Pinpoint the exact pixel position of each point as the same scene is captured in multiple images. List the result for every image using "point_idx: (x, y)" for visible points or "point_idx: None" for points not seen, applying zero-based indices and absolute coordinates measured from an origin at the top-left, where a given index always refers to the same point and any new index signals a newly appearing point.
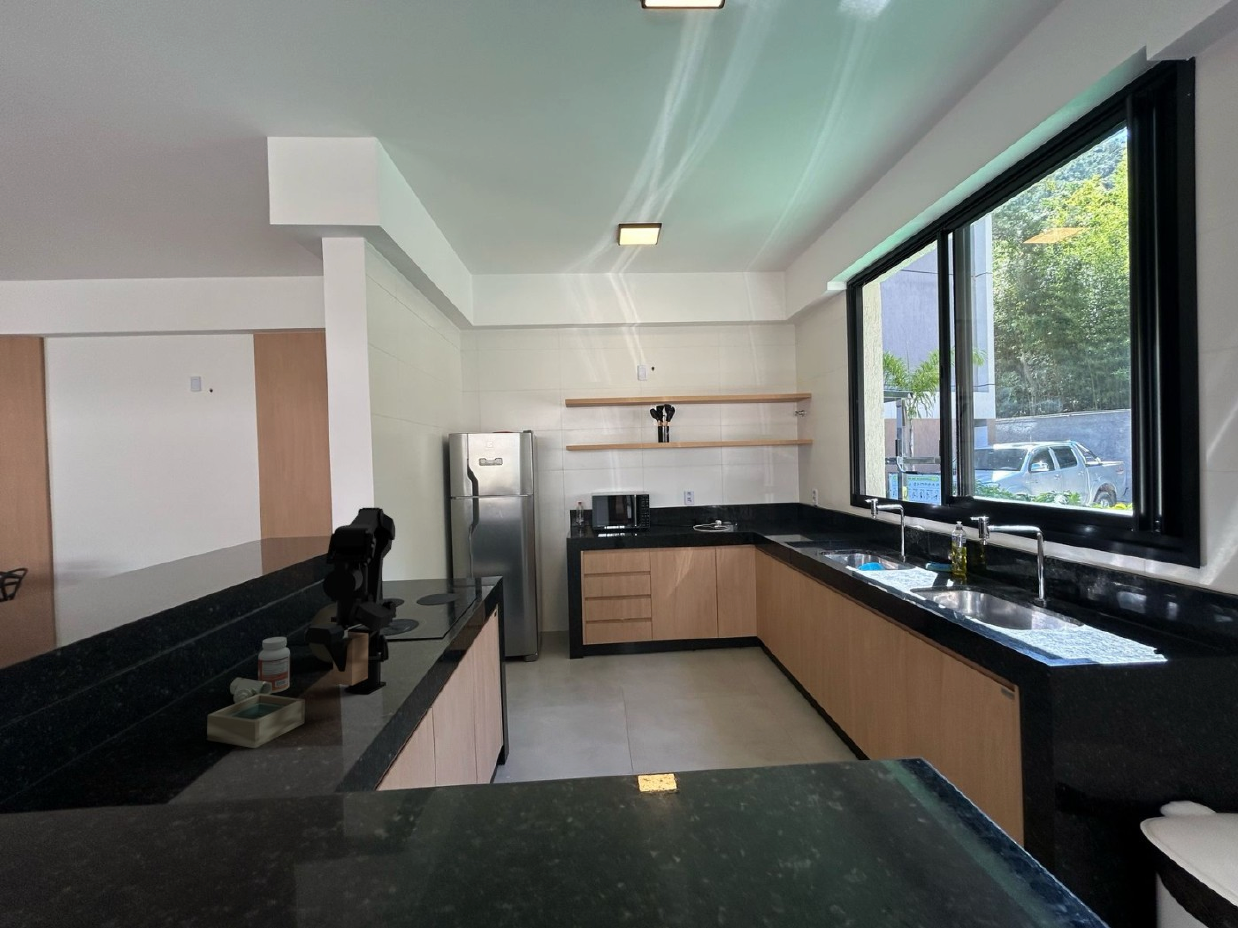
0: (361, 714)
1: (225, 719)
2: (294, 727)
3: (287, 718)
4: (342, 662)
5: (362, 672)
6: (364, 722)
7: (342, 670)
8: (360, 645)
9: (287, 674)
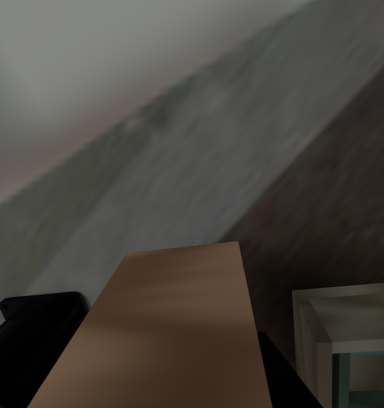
0: (182, 201)
1: None
2: (327, 288)
3: (374, 310)
4: (307, 388)
5: (155, 272)
6: (221, 144)
7: (268, 340)
8: None
9: None
